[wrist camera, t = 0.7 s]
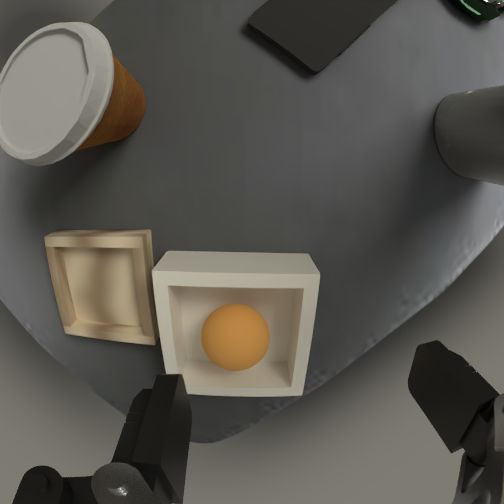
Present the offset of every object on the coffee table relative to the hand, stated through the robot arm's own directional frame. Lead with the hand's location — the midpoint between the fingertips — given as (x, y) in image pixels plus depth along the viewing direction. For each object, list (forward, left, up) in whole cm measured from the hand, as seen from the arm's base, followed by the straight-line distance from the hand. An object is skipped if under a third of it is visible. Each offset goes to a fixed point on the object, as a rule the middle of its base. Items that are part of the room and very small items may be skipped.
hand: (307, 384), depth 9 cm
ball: (+3, +8, -15) cm, 17 cm away
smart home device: (-7, -25, -20) cm, 32 cm away
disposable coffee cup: (+14, -12, -19) cm, 27 cm away
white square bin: (+3, +8, -19) cm, 21 cm away
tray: (+16, +5, -19) cm, 25 cm away
